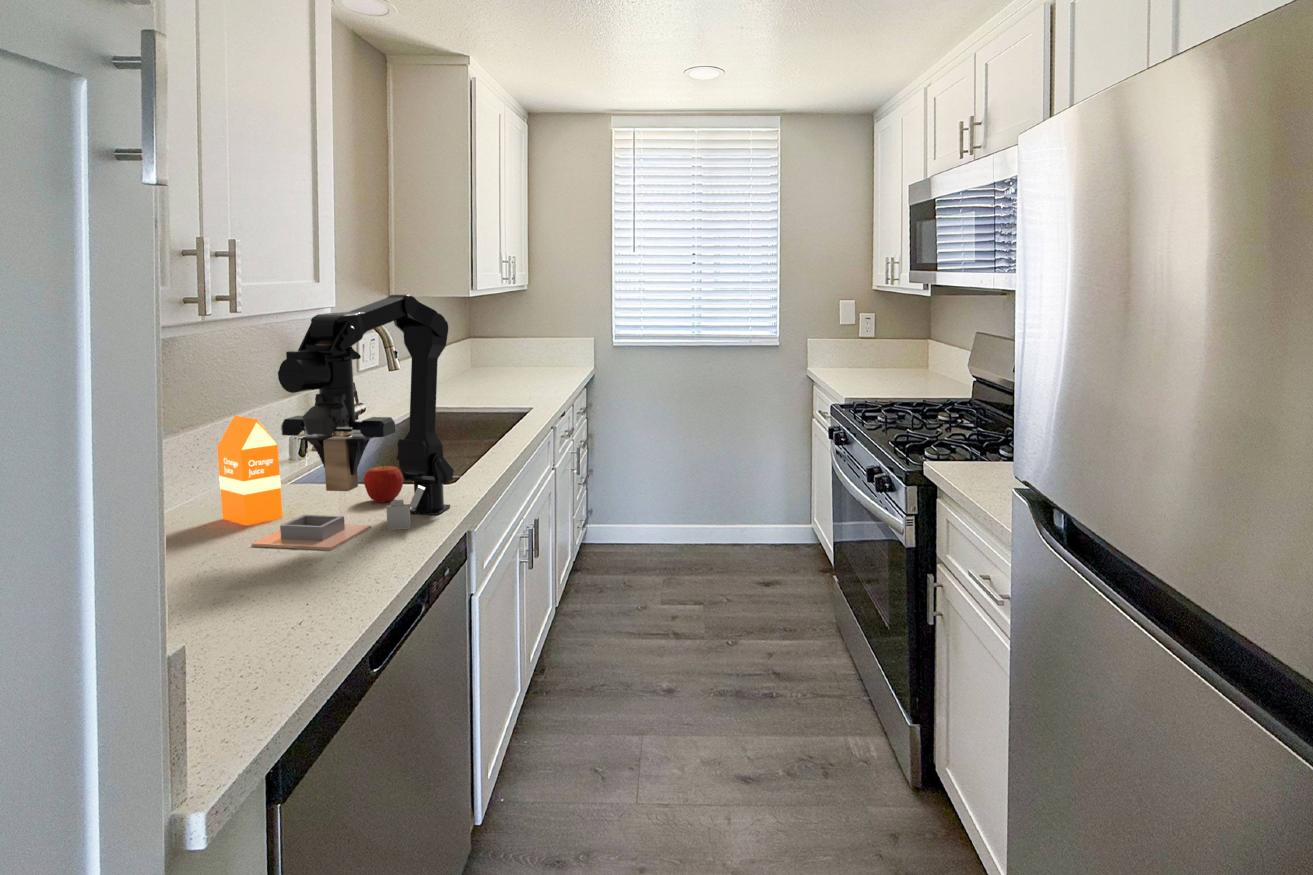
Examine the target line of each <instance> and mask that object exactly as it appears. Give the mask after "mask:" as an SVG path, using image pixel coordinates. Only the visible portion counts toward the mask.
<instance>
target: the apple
mask: <svg viewBox="0 0 1313 875" xmlns="http://www.w3.org/2000/svg"><path fill="white" fill-rule="evenodd" d="M403 484H404V478H403V474H402V471H401V469H400V468H398V467H397V466H393V465H391V466H390V465H384V464H382V465H379V466H375V467H372V468H370V469H368V470H367V471H366V472H365V474H364V477H363V485H364V487H365V490H366V493H367V496H369V498H370V499H371V500H372V501H375V502H376V503H389V502H390V503H391V502H392V501H394V500H396V498H397V497H398V496H399V495H400V492H401V491H402V488H403Z"/></svg>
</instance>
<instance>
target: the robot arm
mask: <svg viewBox="0 0 1313 875" xmlns="http://www.w3.org/2000/svg"><path fill="white" fill-rule="evenodd" d="M391 322H393V323H394V326H395V327H396V328H397V329H399V330H400V331H401V332H402V333H403V343H404V347H405V348H406V350H407V352H408V353H409V355H410V357H411V358H410V359H411V369H410V370H411V373H410V393H409V394H410V395H409V396H410V397H409V399H410V401H409V425H408V426H409V428H408V431H407V433H406V435H404V438H399V439H398V441H397V455H396V460H397V461H398V467H399V470H400V471H401V473H402V475H403V482H404V481H405V482H413V491H414V492H413V493H414V494H415V492H416V490H417V487H418V485H421V486H423V487H425V490H424V492H423V494H422V496H421V498H420V500H419V503H418V505H417V507H416V509H415V508H413V507H411V508H410V514H420V515H421V514H423V515H429V514H430V515H440V514H441V513H443V512H445V511H446V510H448V509H450V507H451V504H445V501H444V500H445V498H444V484H448V483H449V482H452V481H453V477H454V468H453V467H452V466H451V464H449V463H448V461H447V460H446V459H445V457H444V448H443V444H442V442H441V440H440V438H439V436H438V434H437V432H436V413H437V410H436V409H437V388H438V386H437V384H438V360H439V357H440V356H441V355H442V353H443V351H444V349H445V348H446V347H447V342H448V334H449V323H448V321H447V320H446V319H445V317H444V316H443V314H442V313H439V312H437V311H436V310H435V309H434V308H432V307H430V306H427V305H426V304H423V303H422V302H420V301H419V300H418V299H416V298H415V297H414V296H413V295H411V294H390V295H388V296H387V297H386V298H383V299H380V300H377V301H375V302H372V303H369V304H366V305H363V306H360V307H358V308H355V309H353V310H349V311H344V312H329V313H321V314H319V313H317V314H316V315H315V316H312V318H311V319H310V324H309V327H308V328H307V331H306V333H305V335H304V337H303V338H302V340H301V343H300V346H299V347H298V349H297V350H296V351H295V350H288V351H286V353H285V354H286V356H285V357H286V359H284V360H283V361H282V362H281V364H280V366H279V369H278V371H277V377H278V381H279V384H280V385H281V388H282V389H283V390H285V391H286V392H288V393H291V394H293V393H294V394H295V393H300V392H301V393H302V392H307V391H315V390H318V393H316V394H315V398H314V399H315V402H314V406H312V407H310V408H309V409H308V410H307V411H306V412H305V413H304V415H295V416H291V417H288V418H284V419H283V421H282V423H281V425H280V427H281V429H280V430H281V435H282V436H291V437H294V436H295V437H296V436H297V437H298V436H299V435H300V434H301V433H302V432H303V434H304V436H303V437H301V438H302V440H303V441H307V442H309V444H310V445H312V446H313V447H314V449H315V450H316V452H317V454H318V456H319V459H320V461H321V463H322V465H323V467H324V469H325V461H324V444H323V440H325V439H328V438H331V437H334V436H333V434H334V433H335V432H341V433H343V432H348V433H349V432H351V436H349V437H350V438H347V439H346V440H347V443H348V445H349V455H350V472H351V475H355V474H356V471H357V472H358V469H359V465H360V462H361V460H362V457H363V454H364V452H365V450H366V448H367V446H368V444H369V442H370V440H371V439H373V438H385V437H387V436H390V435H392V434H395V433H396V422H395V421H394V419H393V418H392V417H389V416H387V417H386V416H372V417H369V418H366V419H365V418H364V419H363V420H361V421H359V413H356V411H355V410H356V407H355V406H356V405H355V398H356V397H358V390H354V389H355V388H354V387H355V386H354V372H353V361H354V360H359V359H361V357H362V356H361V355H360V353H359V352H357V351H356V350H355V349H354V348H353V346H354V345H356V344H357V343H359V342H360V341H361V340H362V339H363V338H364V335H365V334H366V333H367V332H370V331H372V330H375V329H377V328H379V327H382V326H384V325H387V324H389V323H391Z"/></svg>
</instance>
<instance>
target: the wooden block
mask: <svg viewBox="0 0 1313 875" xmlns="http://www.w3.org/2000/svg"><path fill="white" fill-rule="evenodd" d="M350 437H351V436H333V437H331V438H328V439H325V440H323V444H324V461H325V468H324V472H325V473H324V474H325V475H324V476H325V490H326V492H328V491H329V492H350V491H352V490H354V489H356V488H358V487H359V481H358V480H359V479H358V477H359V476H358V470H357V471H356V474H355V475H351V472H350V455H349V445H348V443H347V440H346V439H347V438H350Z"/></svg>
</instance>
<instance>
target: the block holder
mask: <svg viewBox="0 0 1313 875" xmlns="http://www.w3.org/2000/svg"><path fill="white" fill-rule="evenodd" d="M279 528H280V530H277V531H275V532H273V533H271V534H269V535H267V536H265V537H263V538H261V539H258V540H256V541H254V542H252V543H251V547H254V548H255V547H257V548H260V547H261V548H279V549H298V550H299V549H302V550H321V551H322V550H323V551H332V550H335V549H337V548H338V547H340V546H342V545H343V544H345V543H347V542H349V541H351V540H353V539H354V538H356V537H358V536H360V535H361V534H363V533H364V532H367V531H368V530H371V529H372V525H371V524H350V523H349V524H348V523H345V516H344V515H343V516H342V515H326V514H325V515H323V514H302V515H299V516H297V517H295V518H294V519H293V518H292V519H291V520H289V521H287V522H285V523H282V524H280V525H279Z"/></svg>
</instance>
